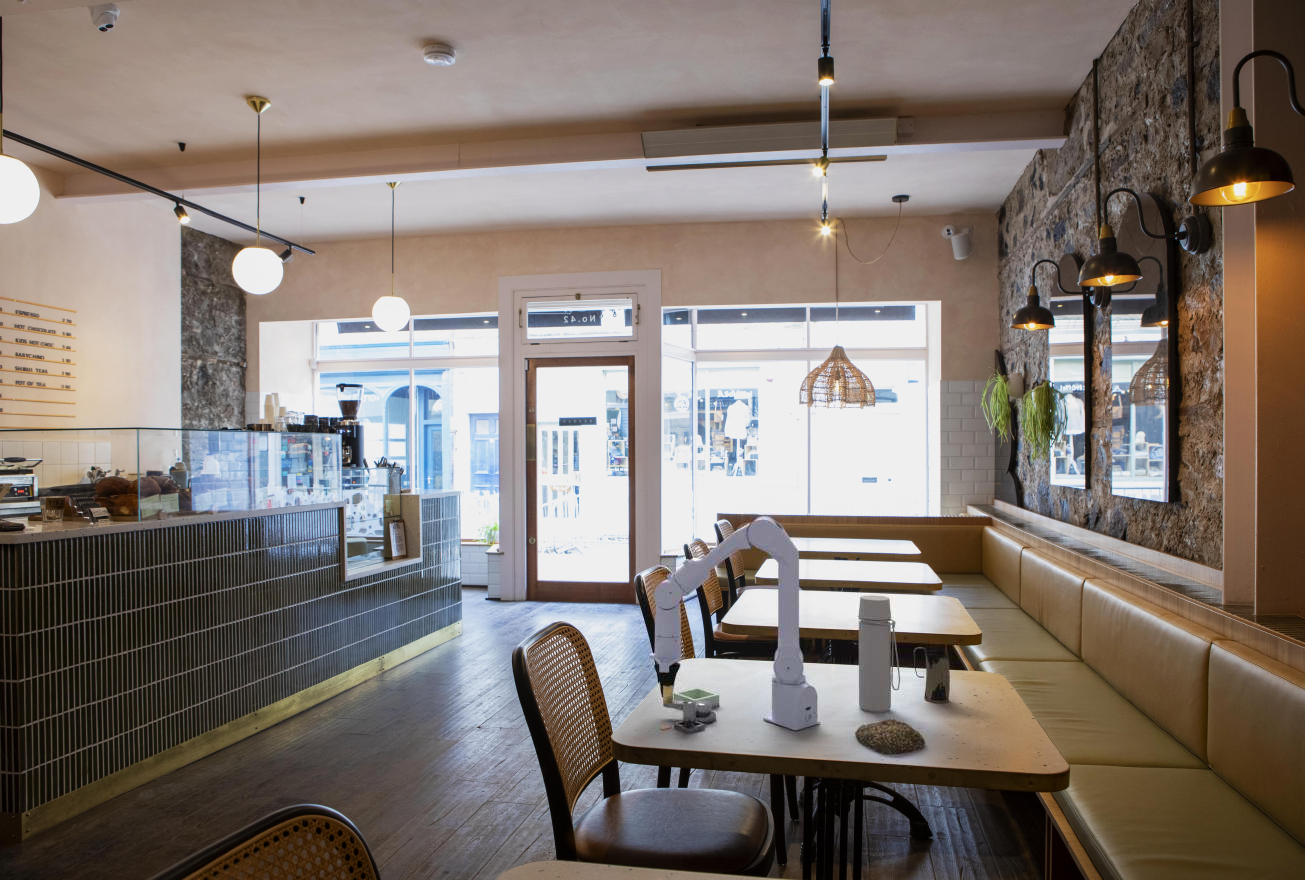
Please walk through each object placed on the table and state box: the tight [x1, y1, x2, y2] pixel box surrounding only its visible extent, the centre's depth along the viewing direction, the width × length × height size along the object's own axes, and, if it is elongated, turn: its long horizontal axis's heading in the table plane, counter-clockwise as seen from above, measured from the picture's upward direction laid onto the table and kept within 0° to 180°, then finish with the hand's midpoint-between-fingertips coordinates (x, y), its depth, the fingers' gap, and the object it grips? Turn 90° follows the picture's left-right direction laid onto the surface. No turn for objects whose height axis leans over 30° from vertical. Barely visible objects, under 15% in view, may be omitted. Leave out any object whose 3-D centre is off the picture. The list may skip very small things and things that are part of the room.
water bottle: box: [857, 594, 901, 714], centre depth 190 cm, size 9×8×25 cm
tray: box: [673, 687, 720, 709], centre depth 193 cm, size 7×7×2 cm
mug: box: [913, 646, 951, 705], centre depth 197 cm, size 8×6×12 cm
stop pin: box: [682, 701, 696, 728], centre depth 177 cm, size 3×3×6 cm
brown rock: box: [854, 718, 926, 755], centre depth 168 cm, size 13×12×5 cm
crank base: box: [659, 710, 717, 735], centre depth 180 cm, size 9×14×1 cm, turn 128°
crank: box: [662, 684, 712, 716], centre depth 184 cm, size 11×5×6 cm, turn 79°
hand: (666, 696), depth 186 cm, fingers closed, pressing on crank
